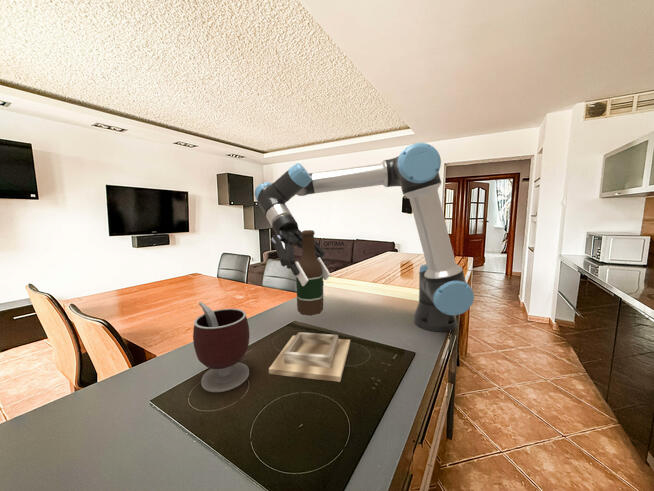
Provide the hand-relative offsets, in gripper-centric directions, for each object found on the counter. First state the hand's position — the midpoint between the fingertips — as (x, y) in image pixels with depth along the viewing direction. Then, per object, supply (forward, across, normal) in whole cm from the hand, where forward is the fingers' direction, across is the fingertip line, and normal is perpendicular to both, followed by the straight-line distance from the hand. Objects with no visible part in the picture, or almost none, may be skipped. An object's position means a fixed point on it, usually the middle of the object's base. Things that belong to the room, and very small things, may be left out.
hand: (316, 280), depth 76 cm
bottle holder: (+15, 0, -20) cm, 25 cm away
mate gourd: (+8, +23, -28) cm, 37 cm away
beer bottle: (+5, 0, -10) cm, 11 cm away
